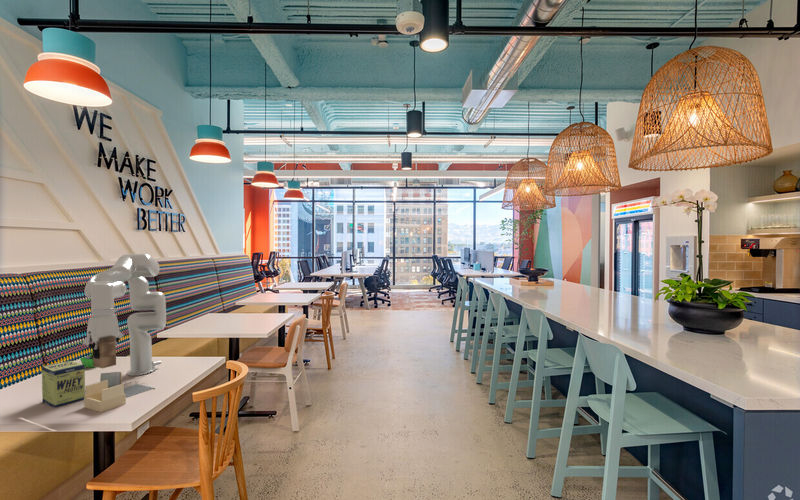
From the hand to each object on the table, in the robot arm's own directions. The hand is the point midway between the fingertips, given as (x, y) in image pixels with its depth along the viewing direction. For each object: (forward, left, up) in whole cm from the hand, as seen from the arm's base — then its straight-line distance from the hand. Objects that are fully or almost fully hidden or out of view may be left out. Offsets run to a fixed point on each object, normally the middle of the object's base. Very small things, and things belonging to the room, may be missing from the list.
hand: (104, 356), depth 162 cm
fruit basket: (-31, -73, -21) cm, 82 cm away
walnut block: (0, 0, -4) cm, 4 cm away
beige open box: (0, 0, -21) cm, 21 cm away
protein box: (+4, -24, -21) cm, 32 cm away
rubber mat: (-14, -8, -21) cm, 26 cm away
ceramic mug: (-14, -23, -21) cm, 34 cm away
